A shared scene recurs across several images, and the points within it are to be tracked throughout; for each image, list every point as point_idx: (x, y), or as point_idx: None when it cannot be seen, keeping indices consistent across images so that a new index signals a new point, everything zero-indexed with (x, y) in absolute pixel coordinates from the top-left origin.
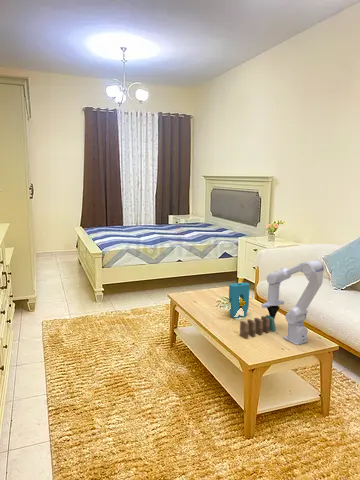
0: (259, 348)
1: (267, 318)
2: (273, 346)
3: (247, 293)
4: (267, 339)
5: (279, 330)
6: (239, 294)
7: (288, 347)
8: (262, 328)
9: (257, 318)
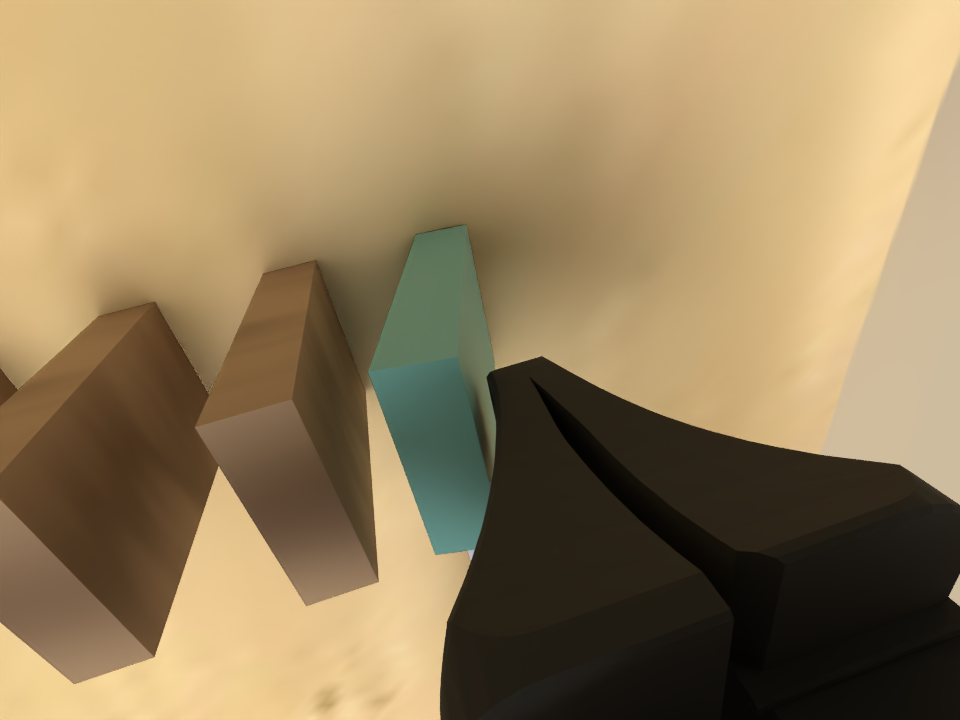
0: (66, 715)
1: (332, 558)
2: (255, 674)
3: None
4: (252, 550)
5: (563, 334)
6: None
7: (399, 678)
8: (201, 505)
9: (2, 557)
